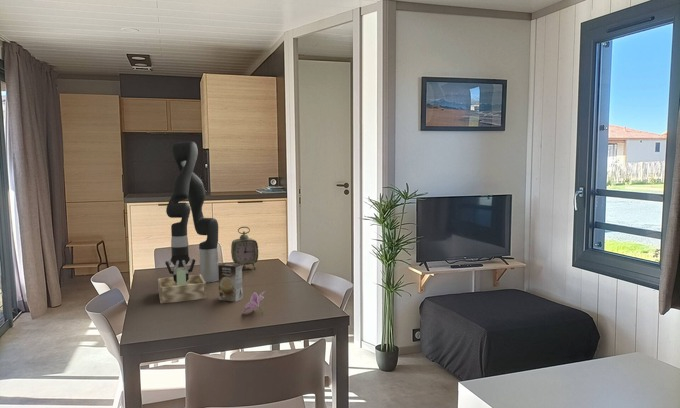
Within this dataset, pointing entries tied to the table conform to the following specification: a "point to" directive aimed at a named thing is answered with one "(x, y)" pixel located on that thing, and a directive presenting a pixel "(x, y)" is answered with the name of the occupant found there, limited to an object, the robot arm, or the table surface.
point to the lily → (254, 302)
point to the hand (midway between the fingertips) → (181, 281)
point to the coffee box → (230, 281)
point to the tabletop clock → (244, 250)
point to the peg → (181, 276)
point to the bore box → (182, 289)
